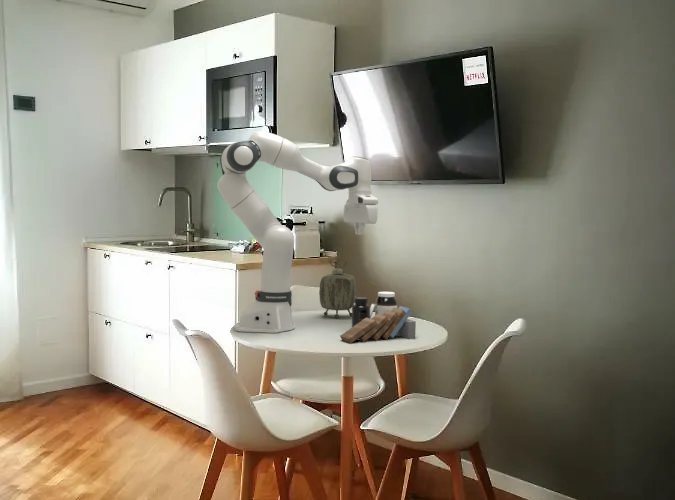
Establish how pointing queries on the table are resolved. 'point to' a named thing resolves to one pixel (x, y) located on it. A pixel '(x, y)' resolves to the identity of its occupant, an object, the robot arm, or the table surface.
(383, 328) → the domino
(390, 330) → the domino
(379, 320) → the domino
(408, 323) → the end stop
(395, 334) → the domino
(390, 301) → the spread jar
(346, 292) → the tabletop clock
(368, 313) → the supplement bottle
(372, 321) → the domino
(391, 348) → the table surface
